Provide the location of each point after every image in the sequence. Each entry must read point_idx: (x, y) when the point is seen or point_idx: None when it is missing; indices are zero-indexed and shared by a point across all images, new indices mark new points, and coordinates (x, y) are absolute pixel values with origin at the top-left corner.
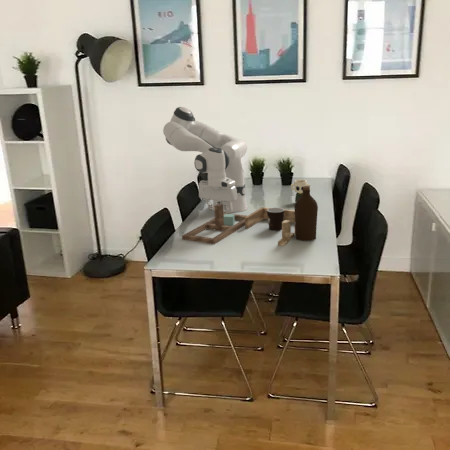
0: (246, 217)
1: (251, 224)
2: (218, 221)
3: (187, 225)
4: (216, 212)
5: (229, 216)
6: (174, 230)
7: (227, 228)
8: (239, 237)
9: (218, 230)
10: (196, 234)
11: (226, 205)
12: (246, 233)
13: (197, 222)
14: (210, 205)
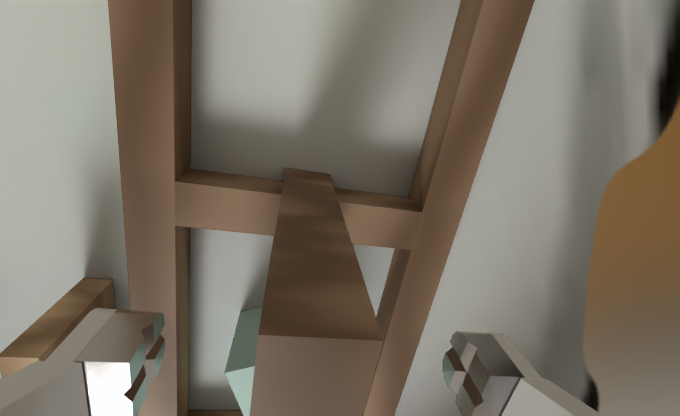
0: (18, 359)
1: None
2: (296, 200)
3: (572, 241)
4: (326, 257)
5: None
6: (661, 107)
7: (208, 182)
8: (10, 37)
9: (301, 171)
10: (464, 3)
11: (25, 389)
12: (25, 174)
13: (513, 311)
14: (480, 369)
